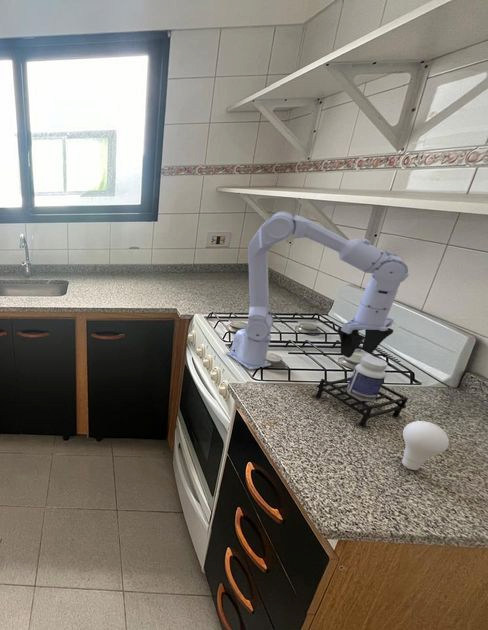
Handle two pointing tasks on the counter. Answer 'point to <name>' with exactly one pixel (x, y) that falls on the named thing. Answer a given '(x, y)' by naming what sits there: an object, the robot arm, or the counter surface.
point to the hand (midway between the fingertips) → (356, 353)
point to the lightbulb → (422, 443)
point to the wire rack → (369, 408)
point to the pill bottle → (367, 378)
